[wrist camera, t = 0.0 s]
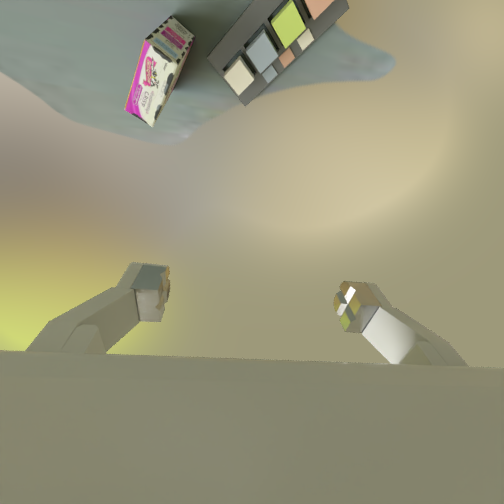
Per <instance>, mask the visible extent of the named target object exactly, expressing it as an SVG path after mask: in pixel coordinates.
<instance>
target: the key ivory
mask: <svg viewBox="0 0 504 504" xmlns="http://www.w3.org/2000/svg"><path fill="white" fill-rule="evenodd" d="M224 78H225V79H226V81H227V82H228V83H229V84H230V86H231V87H232V88H233V89H234V91H235V92H236V93H237V94H238V96H239V95H240V94H241V93H242V92H243V91H244V90H245V89H246V88H247V87H248V86H249V85H250V84H251V83H252V82H253V81H254V75H253V73H252V72H251V70H250V69H249V67H248V66H247V65H246V63H245V62H244V60H243V59H242V57H241V56H239V57H238V58H237V59H236V60H235V61H234V63H233V64H232V65H231V66H230V67H229V68H228V69H227V70H226V72H225V73H224Z"/></svg>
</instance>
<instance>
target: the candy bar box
mask: <svg viewBox="0 0 504 504" xmlns="http://www.w3.org/2000/svg"><path fill="white" fill-rule="evenodd" d="M194 39H195V36H194V35H193V34H192V33H191V32H190V31H188V30H187V29H186V28H185V27H184V26H183V25H182V24H180V23H179V22H178V21H177V20H176V19H175V18H174V17H173V16H170V17H169V18H168V19H167V20H166V21H165V22H164V23H162V24H161V25H160V26H159V27H158V28H157V29H156V30H155V31H153V32H152V33H151V34H150V35H149V36H148V37H147V38H146V39H144V42H143V46H142V49H141V53H140V57H139V61H138V65H137V68H136V71H135V75H134V78H133V82H132V85H131V88H130V92H129V95H128V99H127V102H126V105H125V110H126V111H127V112H129V113H130V114H132V115H134V116H136V117H137V118H139V119H141V120H142V121H144V122H145V123H147V124H148V125H150V126H152V127H153V126H154V124H155V122H156V120H157V118H158V116H159V115H160V113H161V111H162V109H163V107H164V106H165V104H166V102H167V100H168V98H169V96H170V95H171V93H172V91H173V89H174V86H175V84H176V82H177V80H178V77H179V75H180V72H181V70H182V68H183V65H184V63H185V60H186V58H187V55H188V53H189V51H190V48H191V46H192V43H193V41H194Z"/></svg>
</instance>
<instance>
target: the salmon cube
mask: <svg viewBox="0 0 504 504" xmlns="http://www.w3.org/2000/svg"><path fill="white" fill-rule="evenodd" d="M304 1H305V3H306V5H307V8H308V10H309V12H310V14H311V16H312V18H313V19H314V20H315V19H316V18H317V17H318V16H319V15H320V14H321V13H322V12H323V11H324V10H325V9H326V8H327V7H328V6H329V5H330V4H331V3H332V2H333V1H334V0H304Z"/></svg>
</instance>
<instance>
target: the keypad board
mask: <svg viewBox="0 0 504 504" xmlns="http://www.w3.org/2000/svg"><path fill="white" fill-rule="evenodd" d="M282 1H283V0H253V1H252V2H251V4H250V5H249V6H248V7H247V9H246V10H245V11H244V12H243V13H242V15H241V16H240V17H239V18H238V20H237V21H236V22H235V23H234V24H233V26H232V27H231V28H230V29H229V31H228V32H227V33H226V34H225V36H224V37H223V38H222V39H221V40H220V42H219V43H218V44H217V45H216V47H215V48H214V49H213V50H212V51H211V53H210V54H209V55H208V56H207V59H208V60H209V62H210V63H211V64H212V66H213V67H214V68H215V69H216V71H217V72H218V73H219V74H220V76H221V77H222V78H223V79H224V81H225V82H226V83H227V84H228V86H229V87H230V88H231V89H232V91H233V92H234V93H235V94H236V96H237V97H238V98H239V100H240V101H241V102H242V103H243V104H244V106H246V105H248V104H249V103H250V102H251V101H252V100H253V99H254V98H255V97H256V96H257V95H258V94H259V93H260V92H261V91H262V90H263V89H264V88H265V87H267V86H268V85H269V84H270V83H271V82H272V81H273V80H274V79H275V78H276V77H277V76H278V75H279V74H280V73H281V72H282V71H283V70H285V69H286V68H287V67H288V66H289V65H290V64H291V63H292V62H293V61H294V60H295V59H296V58H297V57H298V56H299V55H300V54H301V53H303V52H304V51H305V50H306V49H307V48H308V47H309V46H310V45H311V44H312V43H313V42H314V41H315V40H316V39H317V38H318V37H319V36H321V35H322V34H323V33H324V32H325V31H326V30H327V29H328V28H329V27H330V26H331V25H332V24H333V23H334V22H335V21H336V20H337V19H339V18H340V17H341V16H342V15H343V14H344V13H345V12H346V11H347V10H348V9H349V6H348V3H347V1H346V0H334V1H333V2H332V3H331V4H330V5H329V6H328V7H327V8H326V9H325V10H324V11H323V12H322V13H321V14H320V15H319V16H318V17H317V18H316V19H315V20H314V19H313V18H312V16H310V17H309V18H308V16H307V13H306V11H305V9H304V7H303V5H302V3H301V1H300V0H295V2H296V4H297V7H298V9H299V11H300V13H301V15H302V17H303V19H304V21H305V22H304V25H305V27H306V29H305V30H304V31H303V32H302V33H301V34H300V35H299V36H298V37H297V38H296V39H295V40H294V41H293V42H292V43H291V44H290V45H289V46H288V47H287V48H286V49H285V47H284V45H282V43H281V42H280V40H279V38H278V36H277V35H276V33H275V31H274V29H273V27H272V26H271V24H270V22H269V20H268V19H267V18H268V17H269V16H270V15H271V14H272V13H273V12H274V10H275V9H276V8H277V7H278V6H279V5H280V4H281V2H282ZM263 23H264V24H265V25H266V27H267V29H268V30H269V32H270V34H271V36H272V37H273V39H274V41H275V42H276V44H277V46H278V48H279V49H278V50H277V53H278V57H277V58H276V59H275V60H274V61H273V62H272V63H271V64H270V65H269V66H268V67H267V68H266V69H265V70H264V71H263V72H262V73H261V74H260V72H259V71H258V69H257V68H256V67H255V65H254V64H253V62H252V61H251V59H250V58H249V56H248V55H247V53H246V47H245V46H244V44H245V43H246V42H247V41H248V40H249V39H250V37H251V36H252V35H253V34H254V33H255V32H256V31H257V30H258V28H259V27H260V26H261V25H262V24H263ZM240 49H241V51H242V52H243V53H244V55H245V56H246V58H247V59H248V61H249V62H250V64H251V65H252V67H253V68H254V70H255V71H256V72H255V73H254V74H253V75H254V81H253V82H252V83H251V84H250V85H249V86H248V87H247V88H246V89H245V90H244V91H243V92H242V93H241V94H240V95H239V96H238V94H237V93H236V92H235V91H234V89H233V88H232V87H231V86H230V84H229V83H228V82H227V81H226V79H225V78H224V73H225V72H226V71H225V70H224V67H225V66H226V65H227V63H228V62H229V61H230V60H231V59H232V58H233V57H234V56H235V54H236V53H237V52H238V51H239V50H240Z"/></svg>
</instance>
